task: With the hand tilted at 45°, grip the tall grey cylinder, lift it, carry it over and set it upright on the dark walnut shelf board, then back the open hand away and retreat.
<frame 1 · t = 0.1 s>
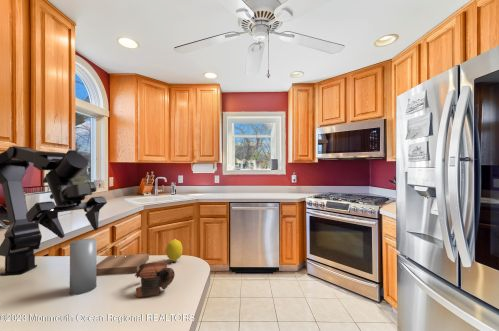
hand: (80, 233, 66), 15 cm above the counter, tool tilted 35°, fingers open, 9 cm apart
shelf board: (121, 266, 79), on the counter
pottery mug: (155, 290, 63), on the counter
lemon: (174, 262, 83), on the counter
grey cylinder: (83, 289, 64), on the counter
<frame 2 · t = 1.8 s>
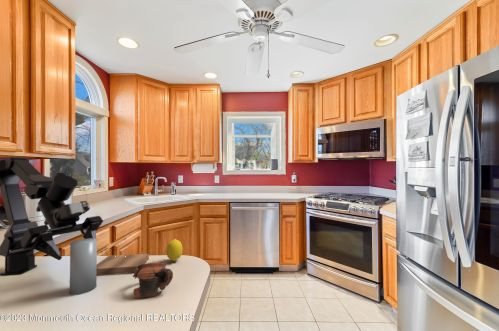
hand: (79, 253, 65), 9 cm above the counter, tool tilted 45°, fingers open, 9 cm apart
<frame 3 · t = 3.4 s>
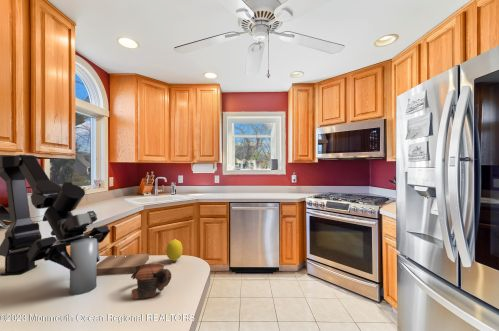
hand: (86, 265, 64), 7 cm above the counter, tool tilted 45°, fingers closed on grey cylinder, 6 cm apart
grey cylinder: (83, 289, 64), on the counter, touching gripper
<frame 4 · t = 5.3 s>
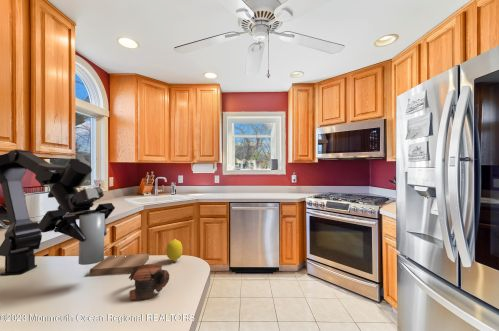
hand: (95, 237, 66), 13 cm above the counter, tool tilted 45°, fingers closed on grey cylinder, 6 cm apart
grey cylinder: (91, 260, 66), point 7 cm above the counter, touching gripper
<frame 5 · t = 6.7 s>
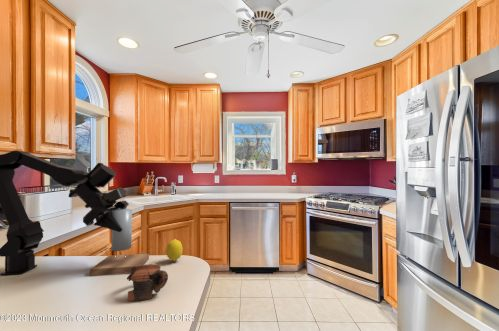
hand: (125, 228, 80), 13 cm above the counter, tool tilted 45°, fingers closed on grey cylinder, 6 cm apart
grey cylinder: (121, 248, 80), point 6 cm above the counter, touching gripper
when the fingers open (10 cm above the counter, at t = 7.7 s): grey cylinder drops 1 cm, resting on shelf board.
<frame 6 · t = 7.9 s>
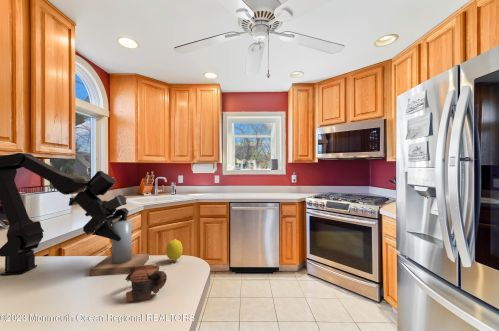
hand: (126, 236, 80), 10 cm above the counter, tool tilted 45°, fingers open, 8 cm apart
grey cylinder: (121, 260, 80), point 2 cm above the counter, touching shelf board
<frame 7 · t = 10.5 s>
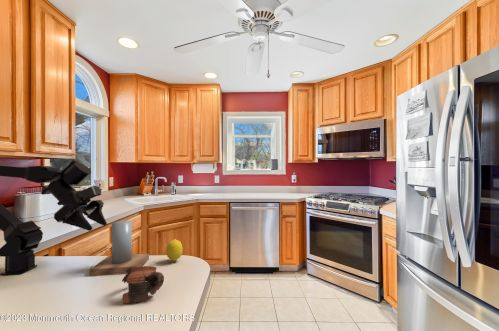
hand: (98, 227, 80), 14 cm above the counter, tool tilted 45°, fingers open, 9 cm apart
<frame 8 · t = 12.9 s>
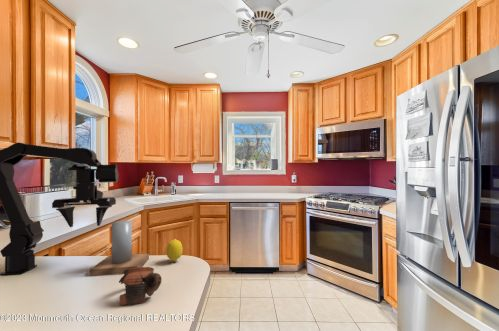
hand: (85, 226, 84), 13 cm above the counter, tool pointing down, fingers open, 9 cm apart
at the end: grey cylinder inside the target area on the shelf board (0.1 cm from its centre), point 2.0 cm above the shelf board's base; grey cylinder tilted 0°; the gripper is holding nothing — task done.
